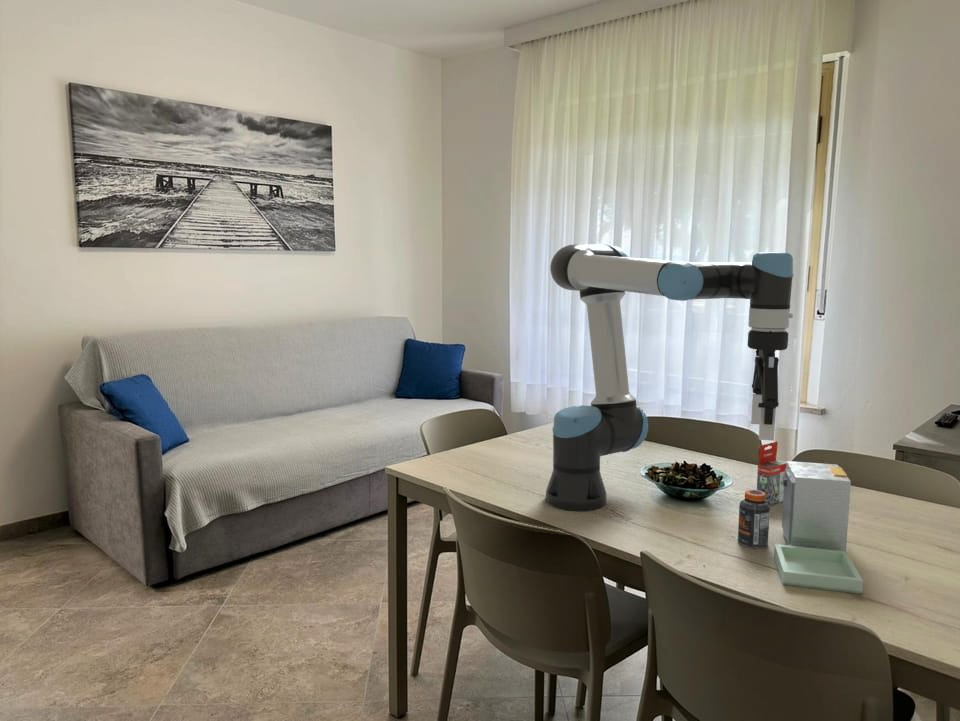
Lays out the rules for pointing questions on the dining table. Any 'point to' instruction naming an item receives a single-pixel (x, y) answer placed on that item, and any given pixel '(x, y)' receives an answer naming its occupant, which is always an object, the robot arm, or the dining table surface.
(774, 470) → the ink box
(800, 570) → the tray
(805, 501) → the unit
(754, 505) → the pill bottle
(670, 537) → the dining table surface
